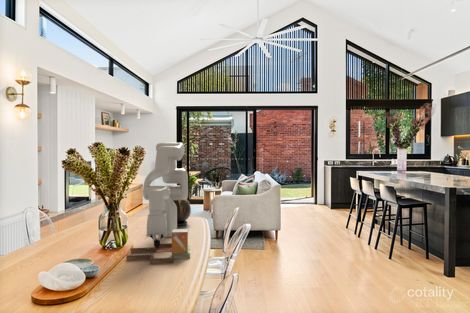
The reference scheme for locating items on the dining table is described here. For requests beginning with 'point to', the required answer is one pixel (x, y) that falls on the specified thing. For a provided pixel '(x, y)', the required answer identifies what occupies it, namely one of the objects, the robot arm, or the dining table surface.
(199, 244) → the dining table surface
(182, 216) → the amphora vase
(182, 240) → the small box
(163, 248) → the trap track
